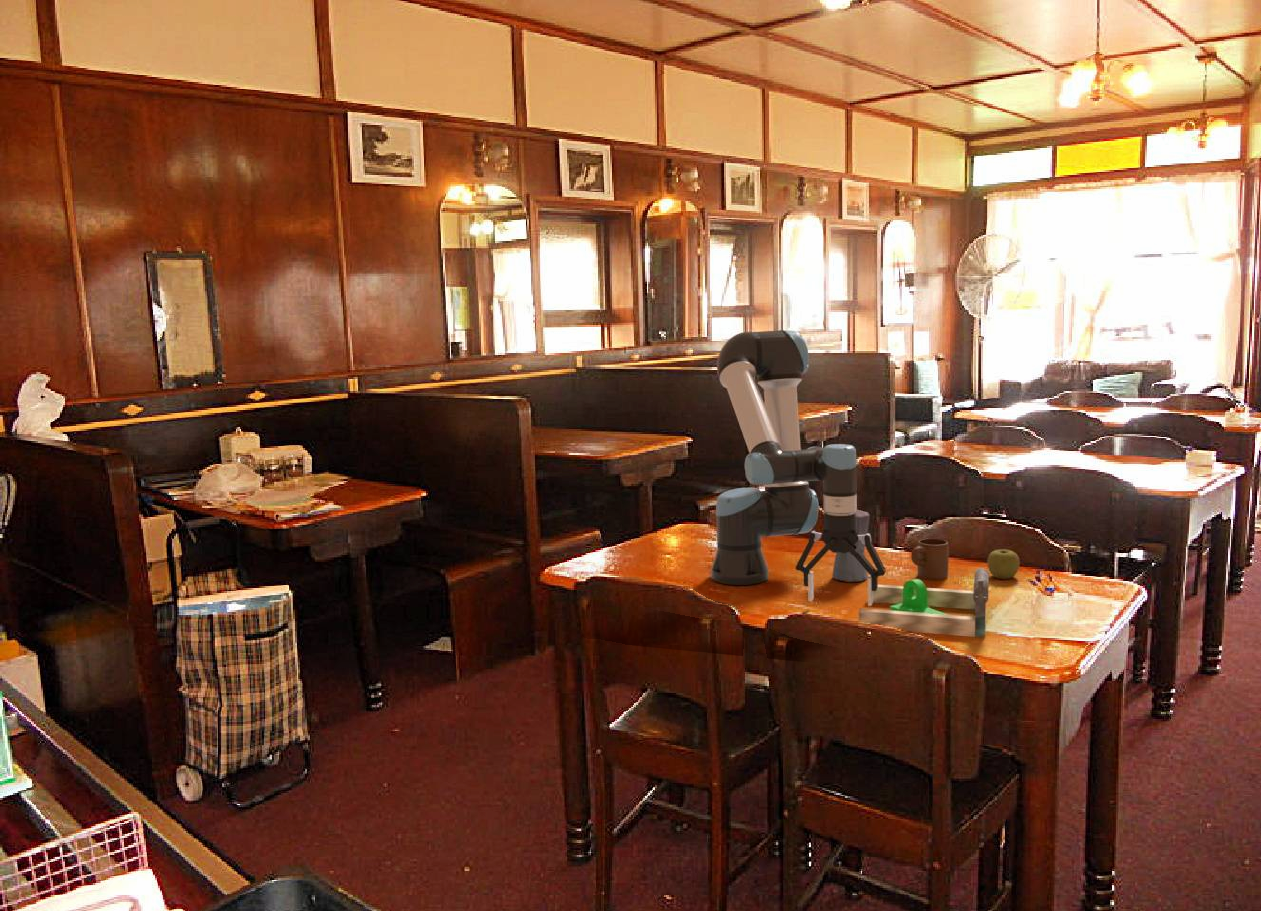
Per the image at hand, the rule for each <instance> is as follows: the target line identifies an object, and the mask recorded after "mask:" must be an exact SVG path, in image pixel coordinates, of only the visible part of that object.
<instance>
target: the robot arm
mask: <svg viewBox="0 0 1261 911" xmlns="http://www.w3.org/2000/svg"><path fill="white" fill-rule="evenodd" d="M809 363H810V353H809V349H808V345H807V343H806V340H805V338H804V337H803V336H802V334H801V333H799V332H798V331H796V330H784V329H780V330H779V329H778V330H765V331H743V332H740V333H738V334H735V335H733V336H731V338H729V339H728V340H727V341H726V342H725V343H724V345H723V346H722V348H721V349H720V352H719V354H718V356H717V362H716V371H717V376H718V378H719V382H720V384H721V386H722V387H723V388H726V390H727V394H728V395H729V399H730V401H731V405H732V408H733V409H734V413H735V416H736V418H737V422H738V424H739V427H740V430H741V432H742V435H743V436H742V437H743V439H744V442H745V444H746V446H747V450H748V452H749V453H748V454H747V455H746V457H745V460H744V470H745V478H746V479H747V481H748V482H749V483H750V484H751V485H755V486H758V485H759V486H761V485H763V486H764V492H761V490H760V489H759V488H758V487H740V488H733V489H729V490H727V491H724V492H722V493H721V494H719V495H718V497H717V499H716V507H715V516H716V517H715V518H716V546H717V547H716V552H715V555H714V560H713V563H712V566H711V570H710V574H711V575H710V576H711V580H713V581H714V582H717V583H719V584H724V585H731V586H739V585H740V586H747V585H756V584H760V583H764V582H765V581H767V580H768V579H769V572H770V571H769V567H768V566H769V565H768V563H767V561H766V558H765V555H764V552H763V549H762V538H766V537H768V538H769V537H778V536H789V535H792V536H797V535H799V534H806V533H807V534H808V533H809V532H810V533H809V536H808V542H807V544H806V546H805V548H804V549H803V552H802V554H801V556H800V558H799V560H798V562H797V563H796V565H795V570H796V571H800V572H802V573H803V586H804V587H807V590H808V594H807V596H808V597H807V598H808V599H807V600H808V602H812V601H813V600H814V599H815V598H814V596H815V595H814V594H815V593H814V589H815V588H814V586H815V584H814V580H815V579H814V576H815V575H814V571H811V570H812V569H813V567H815V566H816V564H817V563H819V561H821V559H822V558H823V557H824V556H825V555H826V554H827V553H828V552H829V551H830V552H832V553H834V554H836V553H837V552H841V553H847V552H850V553H851V554H852V555H853V556H854V557H855V558H856V559H857V560H858V561H859V563H860V564H861V565H862V566H863V567H864V568H865V570H866V571H867V574H868V578H867V606H868V607H871V606H872V605H873V603H874V602H873V591H876V590H877V587H878V585H879V584H878V578H879V577H881V576H885V574H886V570H887V569H886V567H885V565H884V564H883V562H882V559H881V558H880V556H879V554H878V552H877V550H876V547H875V546H874V544H873V542H872V541H873V540H872V535H871V533H870V532H868V533H867V534H866V535H858V533H857V515H856V513H854V512H855V511H856V510H858V507H857V504H858V503H857V502H858V501H857V500H858V499H857V498H858V496H857V495H858V494H857V480H858V479H857V470H858V467H857V465H858V459H857V450H856V447H855V446H854V445H851V444H844V443H838V444H837V443H836V444H834V443H833V444H828V445H825V446H824V447H823V446H811V447H808V448H806V449H802V448H801V435H800V421H799V420H800V419H799V418H800V417H799V407H798V406H799V405H798V390H797V389H798V385H799V384H800V383H801V382H802V381H803V376H802V375H803V374H805V373H806V372H807V371H808V369H809ZM756 378H757V380H756ZM758 385H759V386H760V387H761V388H762V389H763V396H764V398H763V397H762V394H761V392H760V389H759V386H758ZM815 481H817V482H818V481H820V482H822V511H823V512H824V513H823V514H822V525H823V526H822V527H823V528H822V529H823V530H822V532H817V531H816V530H815V529H814V528H815V525H816V524H817V522H818V517H819V507H820V506H819V499H818V495H817V493H816V491H815V490H814V489H811V488H810V486H809V485H810V484H809V482H815ZM813 529H814V530H813ZM820 539H821V541H822V542H823V543H824V544H825V545H824V546H823V547H822V548H821V549H820V550H819V552H817V553H816V555H815V556H814V557H813V558H812V559H811V561H810V562H808V564H807V565H805V562H806V560H807V558H808V557H809V555H810V553H811V550H813V547H814V545H815V543H817V542H818V541H819V540H820ZM858 540H860V541H861V542H862V544H865V549H866V551H867V553H868V554H869V557H870V558H871V560H872V562H873V564H874V565H873V564H872V563H871V562H870V561H869V559H868V558H867V557H866V555H865V556H864V555H863V554H862V553H861V552H860V550H859V548H858V547H857V546H856V545H855V544H856V543H857V541H858Z"/></svg>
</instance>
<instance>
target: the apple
mask: <svg viewBox="0 0 1261 911" xmlns="http://www.w3.org/2000/svg"><path fill="white" fill-rule="evenodd" d="M986 564H987V568H988V572H990V574H991V575H992V576H993V577H995V578H996V579H999V580H1000V579H1001V580H1008V579H1011V578H1013V577H1015V576H1016V574H1017V573H1018V571H1019V568H1020V564H1021V563H1020V557H1019V556H1018V554H1017V553H1016V552H1015V551H1013V550H1010V549H1005V548H1004V549H996V550H993V551H991V552H990V554H989V555H988V557H987V563H986Z"/></svg>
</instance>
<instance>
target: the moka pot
mask: <svg viewBox="0 0 1261 911" xmlns="http://www.w3.org/2000/svg"><path fill="white" fill-rule="evenodd" d="M854 513H856V515H857V533H858V535H866V534H867V533H869V524H870V518H871V515H870V514H869V512H868V511H863V510H859V509H857V510H856V511H855V512H854ZM855 545H856V546H857V547H858V548H859V550H860V552H861V553H862V554H863V555H864V556H865V557H866V551H865V549H866V546H865V544H862V542H861V541H860V540H858V541H857V543H856V544H855ZM832 570H833V571H832V577H833V579H834V580H837V581H842V582H846V583H849V582H850V583H853V582H854V583H856V582H864V581H866V580H867V581H868V577H869V575H868V572H867V571H866V570H865V568H864V567H863V566H862V565H861V564H860V563H859V561H858V560H857V559H856V558H855V557H854V556H853V555H852V554H851V553H850V552H847V553H841V552H837V553H835V557H834V564H833V569H832Z"/></svg>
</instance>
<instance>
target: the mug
mask: <svg viewBox="0 0 1261 911" xmlns="http://www.w3.org/2000/svg"><path fill="white" fill-rule="evenodd" d="M949 551H950V550H949V542H948V540H946V539H941V538H923V539H920V540H918V541H917V546H915V547H914V548H913V549H912V551H911V554H910V557H911V558H910V559H911V561H912V564H913V565H915V566H917V575H918V577H919V579H923V580H928V581H941V580H945V579H947V578H948V576H949Z"/></svg>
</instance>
